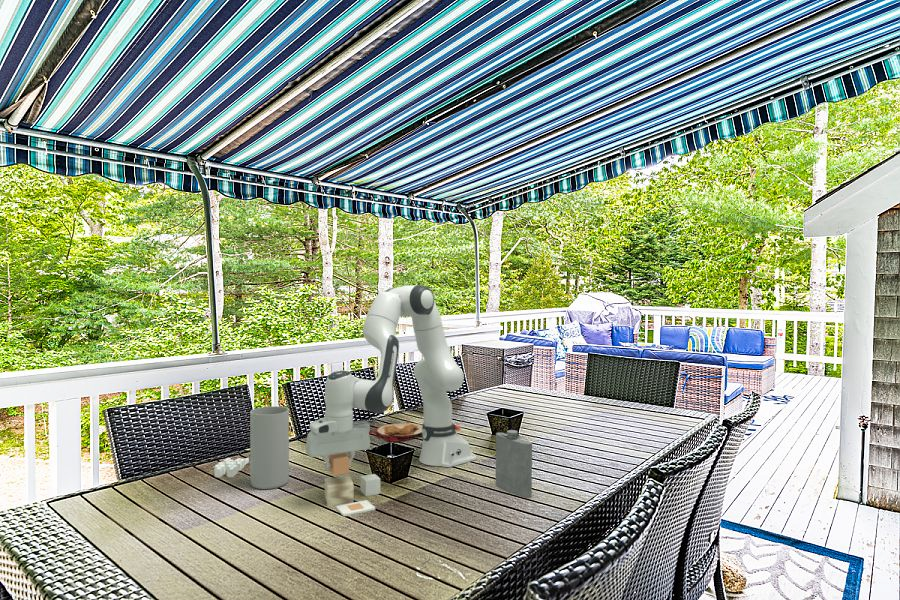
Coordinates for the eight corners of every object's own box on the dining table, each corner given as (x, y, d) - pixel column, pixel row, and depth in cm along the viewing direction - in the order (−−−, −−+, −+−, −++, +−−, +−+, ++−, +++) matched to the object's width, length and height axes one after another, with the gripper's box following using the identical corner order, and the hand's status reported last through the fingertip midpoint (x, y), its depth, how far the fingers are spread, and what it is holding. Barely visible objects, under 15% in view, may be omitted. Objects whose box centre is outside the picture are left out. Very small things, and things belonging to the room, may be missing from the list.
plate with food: (440, 435, 254) (440, 427, 254) (392, 444, 237) (392, 436, 237) (407, 425, 273) (408, 418, 273) (361, 433, 255) (361, 425, 255)
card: (366, 501, 174) (366, 499, 174) (375, 509, 168) (375, 507, 168) (335, 508, 169) (335, 505, 169) (343, 516, 163) (343, 514, 163)
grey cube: (374, 488, 185) (374, 473, 185) (380, 493, 181) (380, 478, 181) (360, 491, 183) (360, 476, 183) (365, 496, 179) (365, 481, 178)
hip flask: (533, 496, 180) (534, 435, 179) (524, 499, 177) (525, 437, 177) (500, 481, 192) (501, 424, 192) (491, 484, 190) (492, 426, 189)
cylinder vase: (253, 492, 181) (253, 416, 180) (248, 480, 192) (247, 408, 191) (292, 486, 187) (292, 412, 186) (285, 474, 198) (285, 405, 197)
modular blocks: (232, 478, 195) (232, 467, 195) (213, 478, 195) (213, 466, 195) (252, 460, 215) (252, 450, 214) (234, 460, 214) (234, 449, 214)
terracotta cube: (343, 468, 179) (343, 452, 179) (348, 472, 174) (349, 457, 174) (328, 470, 176) (328, 455, 176) (333, 475, 172) (333, 459, 172)
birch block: (349, 494, 181) (349, 475, 181) (353, 503, 173) (353, 484, 173) (324, 496, 178) (324, 478, 178) (327, 506, 171) (327, 487, 170)
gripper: (366, 417, 183) (365, 459, 183) (304, 424, 173) (304, 468, 173) (373, 421, 177) (373, 464, 178) (310, 429, 167) (309, 474, 168)
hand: (338, 466), depth 175 cm, fingers closed on terracotta cube, 5 cm apart
